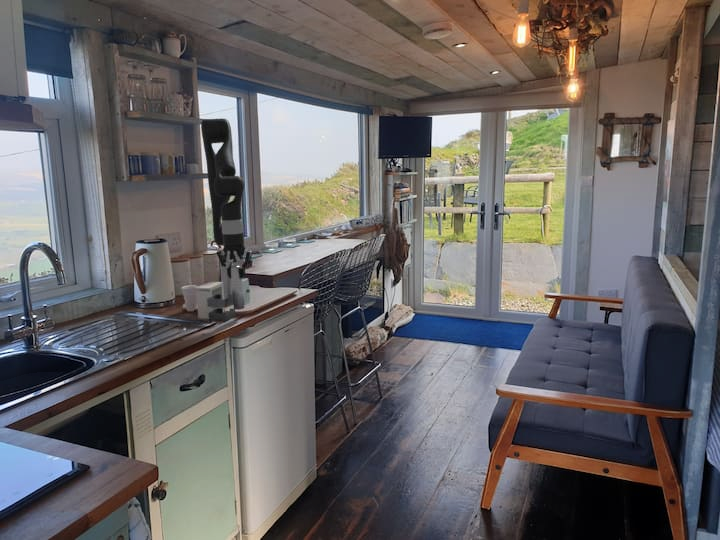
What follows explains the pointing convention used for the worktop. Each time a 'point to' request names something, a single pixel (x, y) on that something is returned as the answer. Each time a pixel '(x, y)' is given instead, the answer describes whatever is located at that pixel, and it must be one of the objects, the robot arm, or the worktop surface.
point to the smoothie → (190, 296)
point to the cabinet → (213, 302)
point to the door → (239, 288)
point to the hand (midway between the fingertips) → (236, 277)
